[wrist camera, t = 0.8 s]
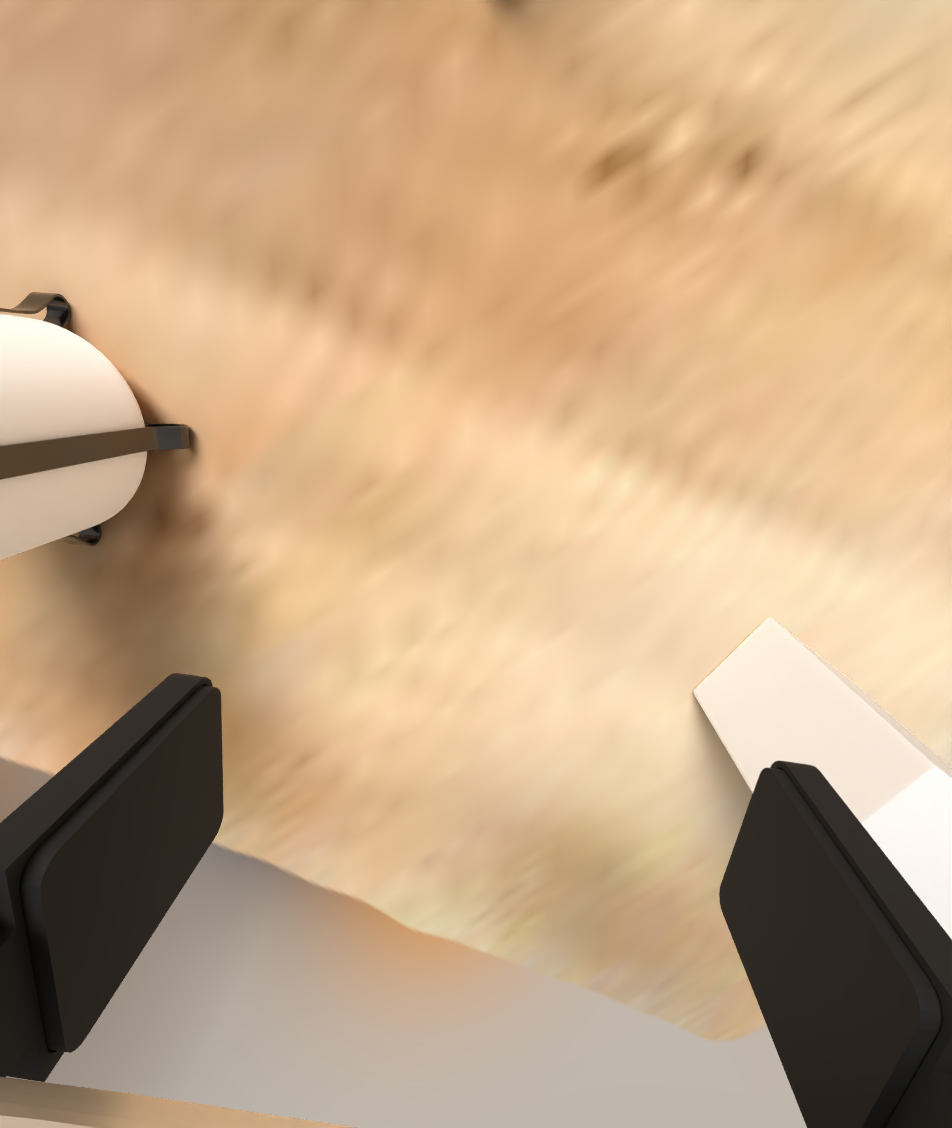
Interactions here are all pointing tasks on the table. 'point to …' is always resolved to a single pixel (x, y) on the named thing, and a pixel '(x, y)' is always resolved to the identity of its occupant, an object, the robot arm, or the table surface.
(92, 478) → the coffee press
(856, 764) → the milk carton
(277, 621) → the table surface
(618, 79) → the table surface
